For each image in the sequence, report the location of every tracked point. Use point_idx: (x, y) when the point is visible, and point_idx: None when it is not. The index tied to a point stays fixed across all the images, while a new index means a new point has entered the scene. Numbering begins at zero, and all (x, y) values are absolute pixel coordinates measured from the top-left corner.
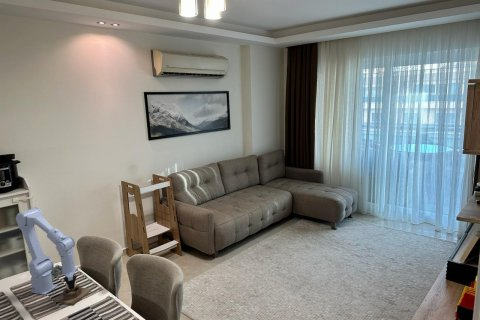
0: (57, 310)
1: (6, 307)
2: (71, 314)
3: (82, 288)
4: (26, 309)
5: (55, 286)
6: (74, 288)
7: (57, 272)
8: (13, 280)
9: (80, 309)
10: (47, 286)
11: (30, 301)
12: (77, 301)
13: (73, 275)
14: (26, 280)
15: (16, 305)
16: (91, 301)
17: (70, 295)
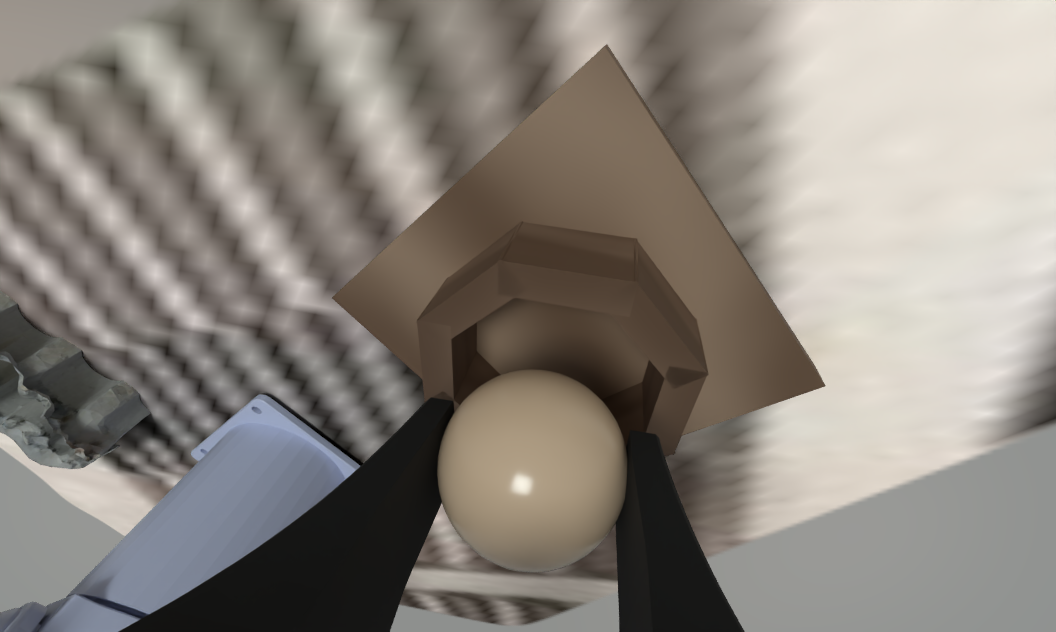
0: (746, 483)
1: (432, 607)
2: (1020, 423)
3: (470, 194)
4: (528, 576)
5: (275, 413)
6: (602, 401)
7: (21, 379)
8: (130, 529)
9: (1047, 320)
10: (306, 508)
11: (431, 544)
12: (781, 316)
13: (346, 568)
14: (134, 496)
15: (438, 585)
16: (1022, 111)
17: (678, 424)
